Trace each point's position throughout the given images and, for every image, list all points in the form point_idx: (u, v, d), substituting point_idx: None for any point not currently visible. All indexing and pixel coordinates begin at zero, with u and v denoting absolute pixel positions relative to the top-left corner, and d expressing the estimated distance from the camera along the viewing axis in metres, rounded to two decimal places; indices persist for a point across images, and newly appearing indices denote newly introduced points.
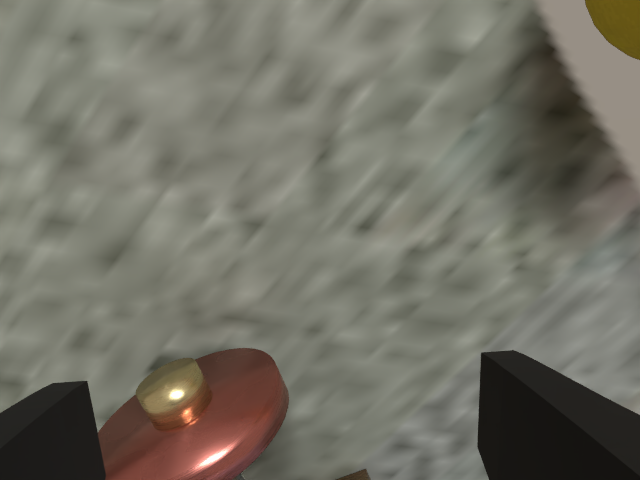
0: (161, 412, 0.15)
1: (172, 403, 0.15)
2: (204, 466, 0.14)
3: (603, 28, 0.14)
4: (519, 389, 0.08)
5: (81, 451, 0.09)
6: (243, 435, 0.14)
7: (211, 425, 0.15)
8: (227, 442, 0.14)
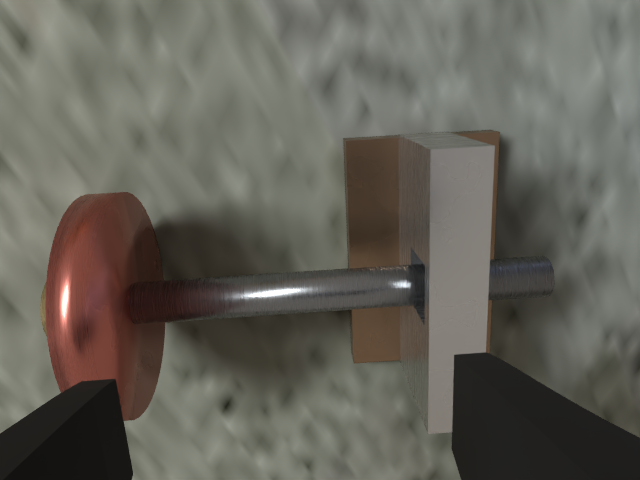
0: None
1: None
2: (54, 310, 0.12)
3: None
4: (487, 392, 0.08)
5: (111, 449, 0.09)
6: (57, 257, 0.12)
7: None
8: (47, 277, 0.12)
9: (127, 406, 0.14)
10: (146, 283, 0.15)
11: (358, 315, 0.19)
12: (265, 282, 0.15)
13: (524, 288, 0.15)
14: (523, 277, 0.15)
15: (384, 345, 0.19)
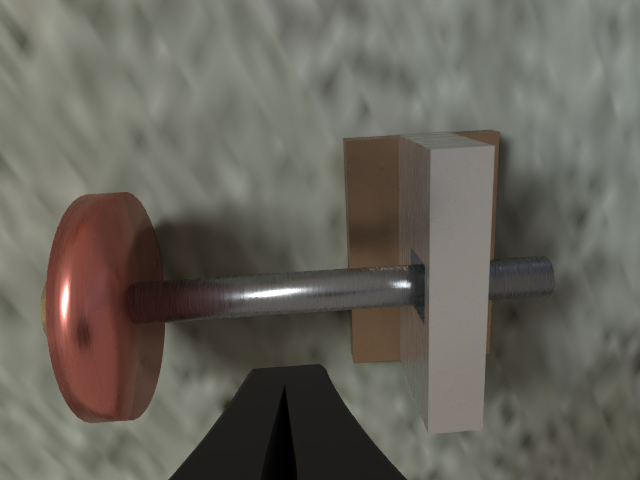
0: None
1: None
2: (54, 310, 0.12)
3: None
4: (287, 406, 0.08)
5: None
6: (57, 257, 0.12)
7: None
8: (47, 277, 0.12)
9: (127, 406, 0.14)
10: (146, 283, 0.15)
11: (358, 315, 0.19)
12: (265, 282, 0.15)
13: (524, 288, 0.15)
14: (523, 277, 0.15)
15: (384, 345, 0.19)
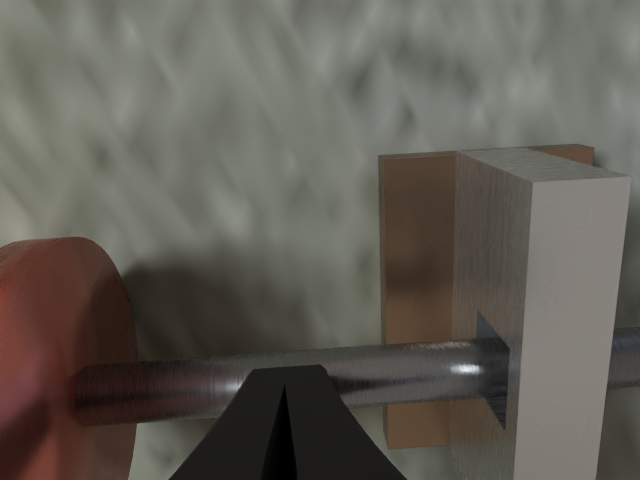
0: None
1: None
2: None
3: None
4: (287, 407, 0.08)
5: None
6: None
7: None
8: None
9: None
10: (103, 368, 0.10)
11: None
12: None
13: None
14: None
15: (429, 427, 0.14)
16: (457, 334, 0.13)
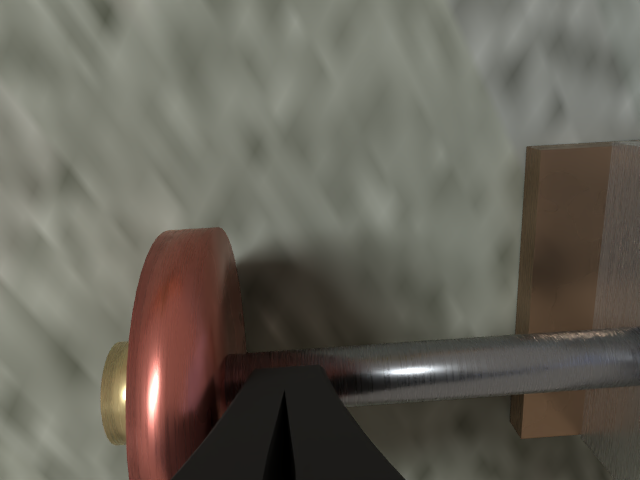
0: None
1: (123, 408, 0.10)
2: (139, 431, 0.07)
3: None
4: (286, 407, 0.08)
5: None
6: (140, 342, 0.08)
7: None
8: (126, 375, 0.08)
9: None
10: (246, 357, 0.10)
11: None
12: (418, 357, 0.10)
13: None
14: None
15: (562, 416, 0.14)
16: (603, 323, 0.13)
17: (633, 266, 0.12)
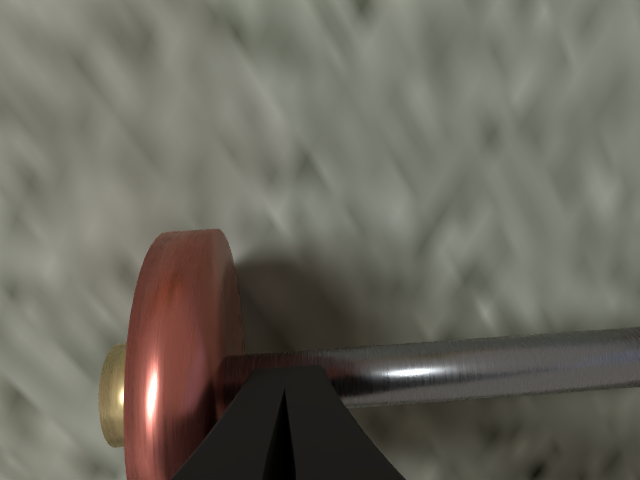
0: None
1: (121, 410, 0.10)
2: (137, 434, 0.07)
3: None
4: (286, 407, 0.08)
5: None
6: (138, 344, 0.08)
7: None
8: (124, 379, 0.08)
9: None
10: (245, 359, 0.10)
11: None
12: (416, 359, 0.10)
13: None
14: None
15: None
16: None
17: None
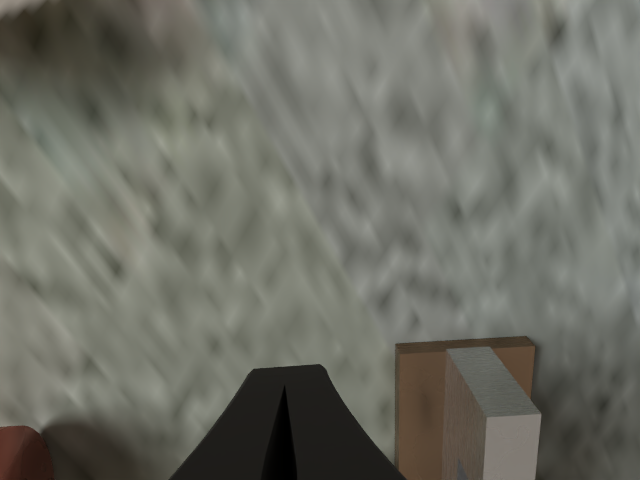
0: None
1: None
2: None
3: None
4: (287, 407, 0.08)
5: None
6: None
7: None
8: None
9: None
10: None
11: None
12: None
13: None
14: None
15: None
16: (445, 461, 0.20)
17: (454, 434, 0.19)
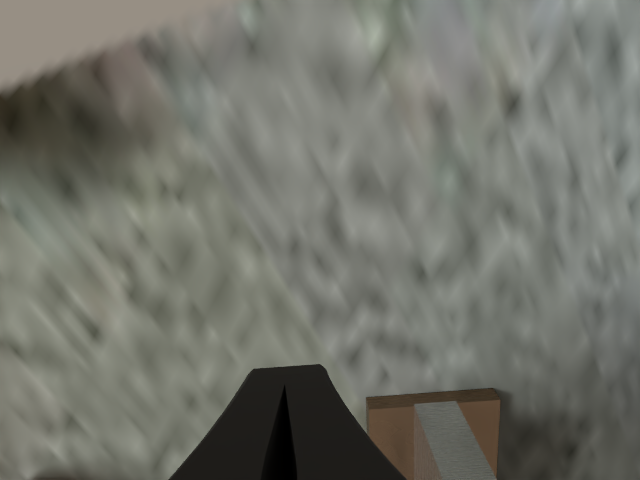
0: None
1: None
2: None
3: None
4: (287, 406, 0.08)
5: None
6: None
7: None
8: None
9: None
10: None
11: None
12: None
13: None
14: None
15: None
16: None
17: None
